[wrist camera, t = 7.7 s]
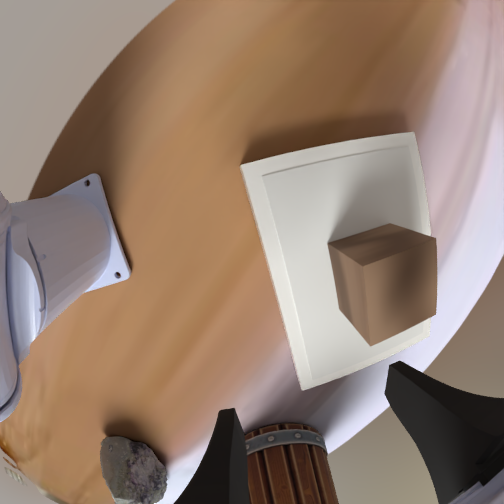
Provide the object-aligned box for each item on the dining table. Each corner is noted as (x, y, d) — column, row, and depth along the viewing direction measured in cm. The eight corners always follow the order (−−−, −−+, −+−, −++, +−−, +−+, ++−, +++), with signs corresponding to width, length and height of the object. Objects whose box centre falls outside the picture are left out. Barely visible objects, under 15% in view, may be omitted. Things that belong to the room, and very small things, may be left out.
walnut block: (339, 309, 18) (370, 346, 14) (327, 243, 17) (362, 266, 12) (396, 286, 18) (435, 314, 14) (390, 223, 17) (436, 238, 12)
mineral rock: (159, 486, 27) (153, 537, 17) (93, 459, 25) (77, 509, 15) (192, 458, 25) (189, 525, 15) (108, 424, 23) (85, 491, 13)
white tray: (296, 376, 22) (302, 391, 20) (239, 166, 17) (241, 164, 15) (418, 326, 22) (430, 336, 20) (399, 134, 18) (414, 131, 16)
